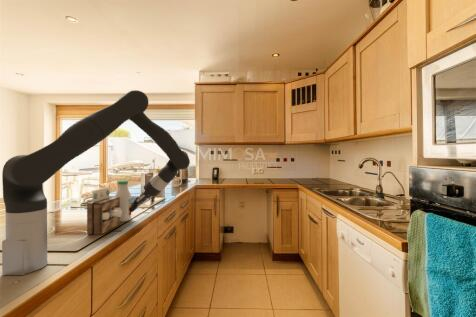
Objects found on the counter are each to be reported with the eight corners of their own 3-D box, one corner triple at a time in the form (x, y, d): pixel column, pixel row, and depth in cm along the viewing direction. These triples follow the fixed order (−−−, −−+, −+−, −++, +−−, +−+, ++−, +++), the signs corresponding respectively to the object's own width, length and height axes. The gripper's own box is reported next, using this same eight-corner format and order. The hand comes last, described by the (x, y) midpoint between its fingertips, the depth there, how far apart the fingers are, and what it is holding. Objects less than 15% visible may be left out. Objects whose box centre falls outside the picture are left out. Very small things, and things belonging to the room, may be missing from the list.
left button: (105, 220, 102) (105, 213, 102) (94, 220, 103) (94, 213, 103) (109, 218, 105) (109, 211, 105) (98, 218, 106) (98, 211, 106)
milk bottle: (125, 222, 119) (125, 181, 119) (111, 221, 120) (111, 181, 120) (134, 218, 127) (134, 180, 126) (120, 217, 128) (120, 179, 127)
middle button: (118, 217, 107) (118, 210, 107) (107, 217, 107) (107, 210, 107) (122, 215, 110) (122, 209, 110) (111, 215, 110) (111, 209, 110)
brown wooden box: (100, 234, 101) (100, 203, 101) (87, 234, 102) (87, 203, 101) (119, 224, 116) (119, 197, 116) (107, 223, 117) (107, 196, 116)
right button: (117, 214, 112) (117, 208, 112) (106, 214, 112) (106, 208, 112) (120, 213, 115) (120, 207, 115) (110, 213, 115) (110, 206, 115)
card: (94, 202, 103) (94, 190, 103) (92, 202, 103) (92, 190, 103) (109, 197, 115) (109, 186, 115) (108, 197, 115) (108, 186, 115)
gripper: (156, 177, 120) (131, 201, 120) (145, 180, 106) (117, 208, 107) (166, 188, 120) (142, 212, 120) (157, 192, 106) (129, 220, 107)
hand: (130, 210), depth 114 cm, fingers closed
